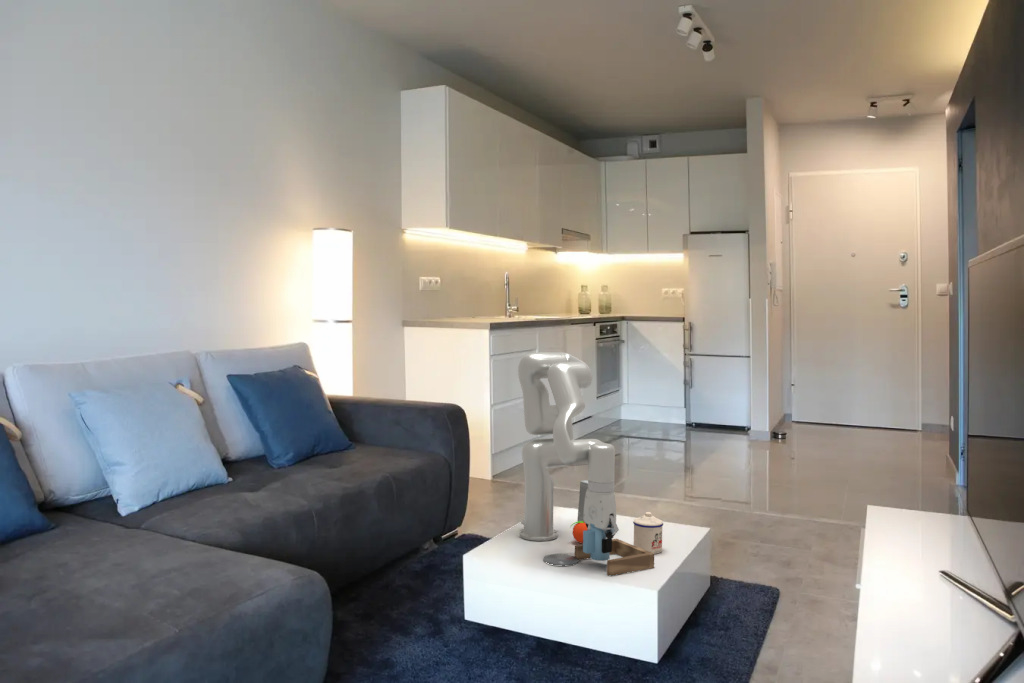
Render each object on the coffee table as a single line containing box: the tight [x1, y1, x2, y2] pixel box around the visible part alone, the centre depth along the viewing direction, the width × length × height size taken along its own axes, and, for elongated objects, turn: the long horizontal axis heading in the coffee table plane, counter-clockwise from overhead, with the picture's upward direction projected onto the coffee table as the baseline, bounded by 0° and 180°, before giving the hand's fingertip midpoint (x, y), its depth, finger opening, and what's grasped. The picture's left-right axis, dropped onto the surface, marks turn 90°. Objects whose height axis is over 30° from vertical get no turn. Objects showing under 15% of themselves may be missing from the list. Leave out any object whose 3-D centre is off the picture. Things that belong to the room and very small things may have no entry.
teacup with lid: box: [632, 511, 664, 555], centre depth 232 cm, size 12×9×12 cm
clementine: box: [569, 521, 587, 544], centre depth 237 cm, size 8×7×7 cm
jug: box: [583, 523, 611, 562], centre depth 214 cm, size 8×6×10 cm
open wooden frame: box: [574, 538, 655, 576], centre depth 217 cm, size 17×16×4 cm
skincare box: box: [576, 479, 588, 522], centre depth 255 cm, size 8×7×16 cm
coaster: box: [543, 553, 579, 567], centre depth 219 cm, size 10×10×1 cm
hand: (599, 548), depth 215 cm, fingers closed on jug, 5 cm apart
